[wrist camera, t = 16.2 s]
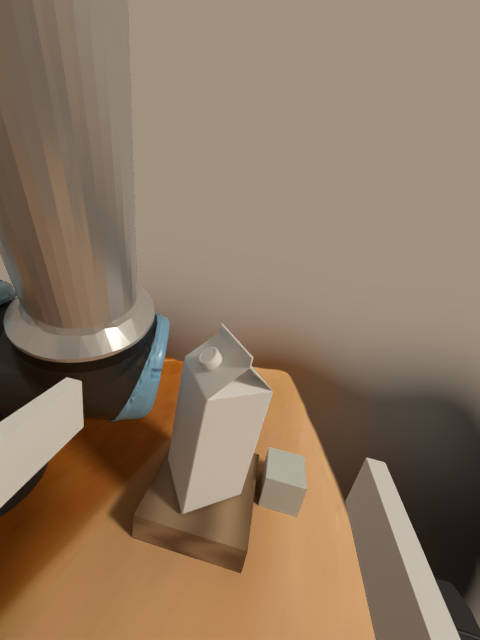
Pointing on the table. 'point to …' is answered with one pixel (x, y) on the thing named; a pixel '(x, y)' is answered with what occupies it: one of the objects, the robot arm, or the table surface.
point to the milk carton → (216, 422)
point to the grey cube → (283, 482)
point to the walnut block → (197, 521)
